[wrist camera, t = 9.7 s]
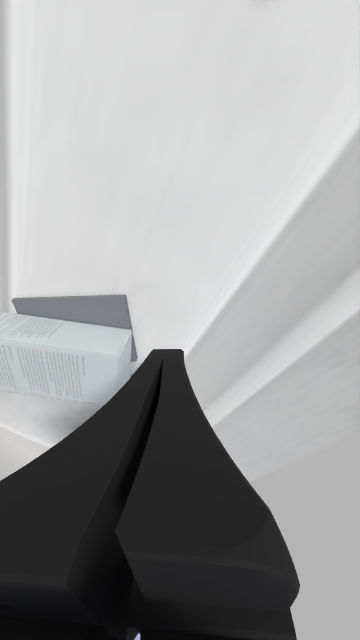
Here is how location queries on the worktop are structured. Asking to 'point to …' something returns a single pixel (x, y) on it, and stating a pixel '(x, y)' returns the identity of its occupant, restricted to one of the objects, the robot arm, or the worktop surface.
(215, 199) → the worktop surface
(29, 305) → the mat
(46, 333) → the skincare box
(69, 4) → the worktop surface
